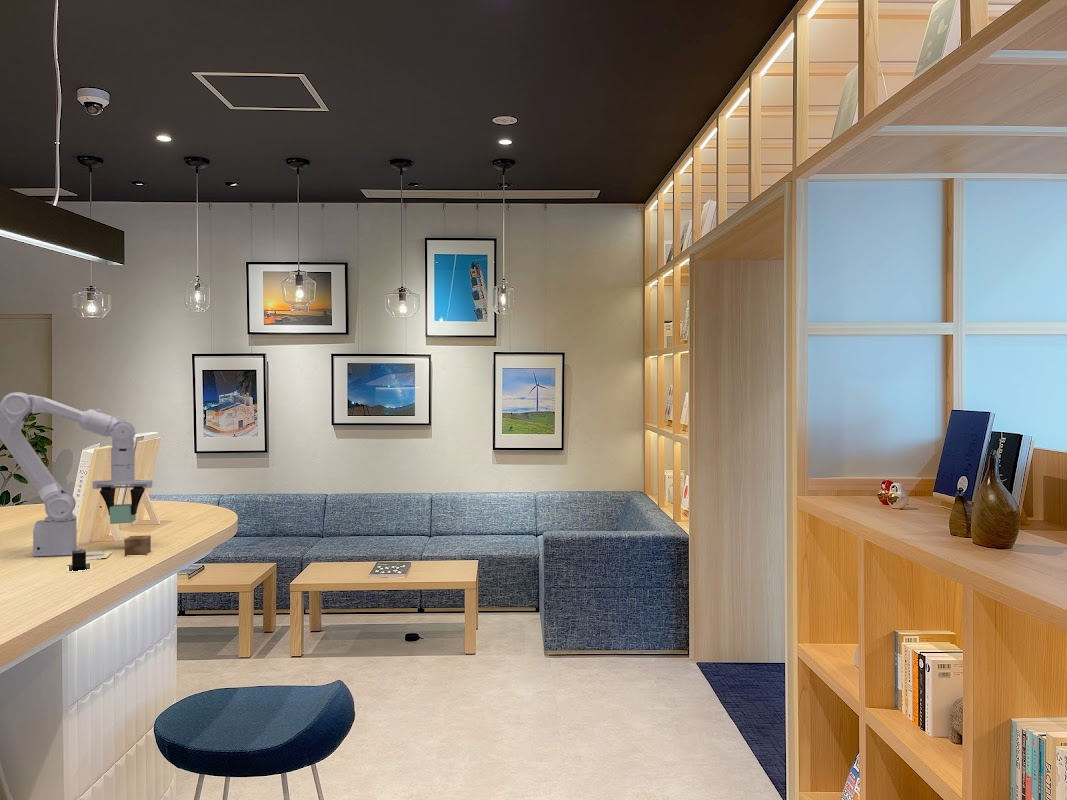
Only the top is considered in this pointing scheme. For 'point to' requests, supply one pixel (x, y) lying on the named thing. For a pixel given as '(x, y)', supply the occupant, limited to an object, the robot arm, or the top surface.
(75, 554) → the black block with base
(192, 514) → the top surface
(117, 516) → the teal block
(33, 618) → the top surface
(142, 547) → the walnut block
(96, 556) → the page
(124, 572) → the top surface
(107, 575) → the top surface
